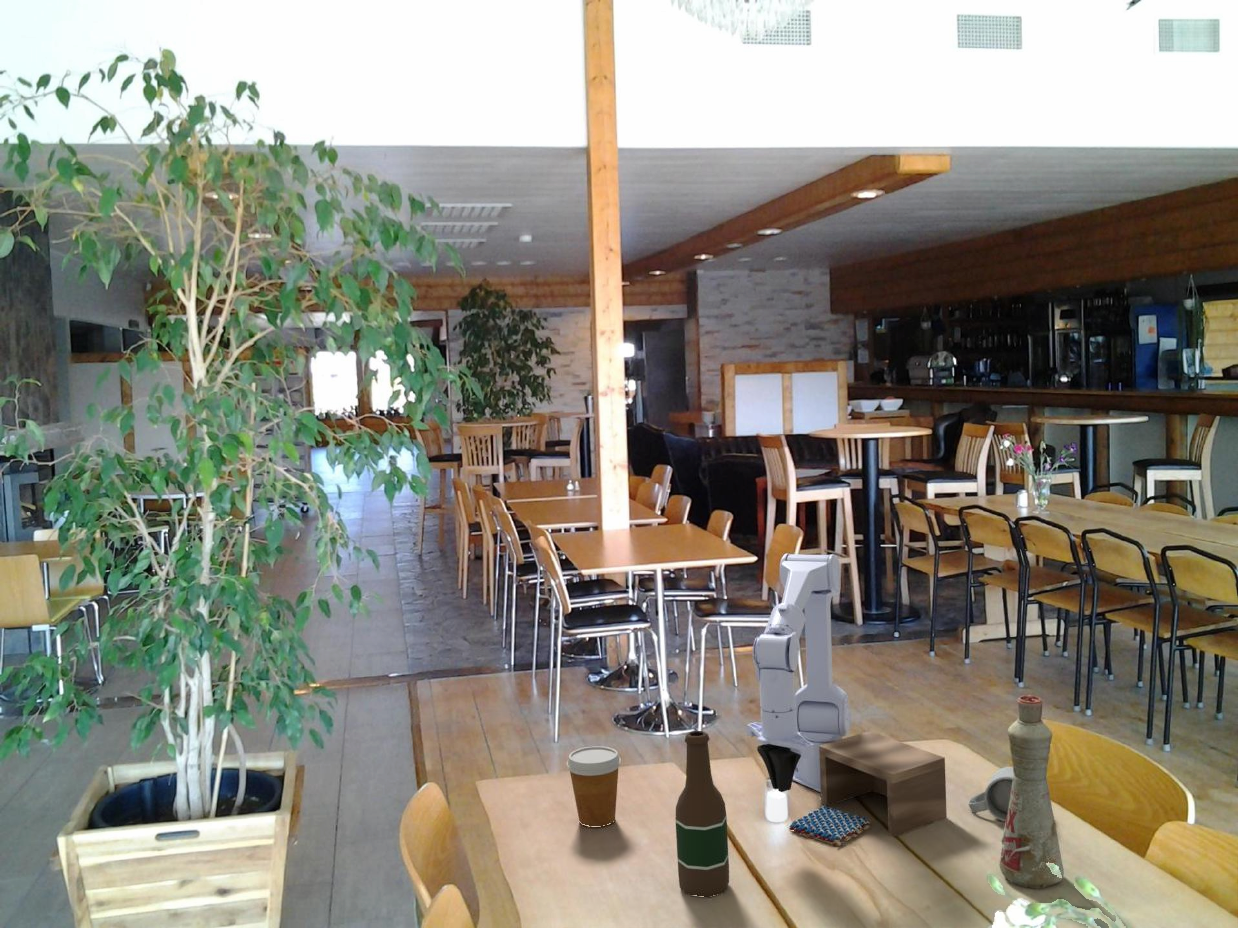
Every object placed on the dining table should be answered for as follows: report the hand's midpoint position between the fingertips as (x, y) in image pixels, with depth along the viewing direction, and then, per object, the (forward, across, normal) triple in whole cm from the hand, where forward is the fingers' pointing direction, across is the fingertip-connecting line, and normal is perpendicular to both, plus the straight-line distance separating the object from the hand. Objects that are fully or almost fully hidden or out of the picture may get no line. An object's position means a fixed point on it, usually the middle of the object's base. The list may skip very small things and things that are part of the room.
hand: (781, 788), depth 188 cm
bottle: (+10, +32, +21) cm, 39 cm away
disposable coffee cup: (+10, -28, -19) cm, 35 cm away
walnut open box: (+9, 0, +22) cm, 24 cm away
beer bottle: (+10, +4, -19) cm, 22 cm away
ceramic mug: (+10, +14, +37) cm, 40 cm away
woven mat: (+10, 0, +10) cm, 14 cm away
